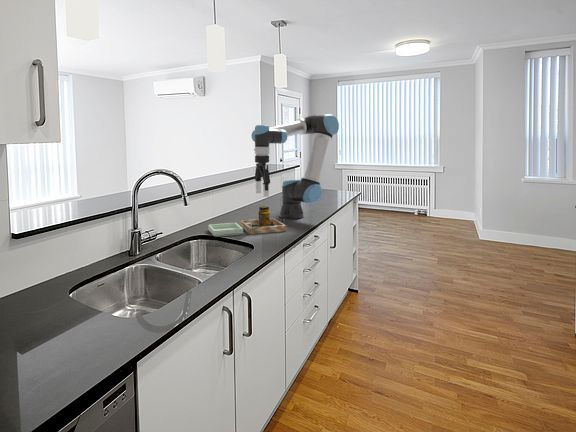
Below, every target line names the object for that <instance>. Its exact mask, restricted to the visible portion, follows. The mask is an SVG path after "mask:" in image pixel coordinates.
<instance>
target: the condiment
mask: <svg viewBox="0 0 576 432" xmlns="http://www.w3.org/2000/svg"><path fill="white" fill-rule="evenodd" d="M270 215H271V214H270V207H269V206H267V205H261V206H259V209H258V219H259V225H258V227H268V226H271V224H270V217H271V216H270ZM255 227H256V226H254V227H253V226H252V228H255Z"/></svg>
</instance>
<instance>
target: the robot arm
mask: <svg viewBox="0 0 576 432" xmlns="http://www.w3.org/2000/svg"><path fill="white" fill-rule="evenodd" d="M339 127H340V123H339V120H338V118H337V117H336V115H334V114H330V113H329V114H328V113H327V114H313V115H308V116H305V117H302V118H298V119H297V120H295V121H293V122H288V123H283V124H278V125H273V126H269V125H268V124H267V125H266V124H258V125H255V126H254V130H252V132H251V139H252V141H253V142H254V149H253V150H254V154H255V155H254V162H255V163H256V164H255V173H254V180H255V194H261V193H262V190H263V194H262V195H263V198H264V197H265V198H266V197H267V198H268V197H269V196H270V195H269V194H270V189H269V188H270V187H269V186H270V184H271V177H270V172H269V171H270V170H269V165H268V164H267V163H270V144H285V143H286V142H287V140H288V137H292V136H296V135H300V136H303V135H312V136H313V137H314V139H313V143H312V145H311V146H312V147H311V150H310V155H309V158H308V162H307V165H306V170H305V172H304V176H303V177H301V178H300V179H299V178H298V179H287V180H283V182H282V186H281V191H282V192H281V194H282V196H281V197H282V201H281V203H282V204H281V207H280V210H279V212H278V213H279V217H280V218H283V219H288V220H289V219H293V220H294V219H302V218H304V215H305V214H304V211H303V206H302V203H305V204H315V203H317V202H318V201H320V199H321V197H322V194H323V190H322V186H321V181H320V175H321V171H322V167H323V163H324V160H325V157H326V153H327V148H328V146H329V145H328V144H329V142H330V141H331V140H332V139H333V135H336V134H337V133H338V132H339ZM262 180H263V181H262ZM262 182H263V183H262ZM262 185H263V186H262ZM262 187H263V189H262Z"/></svg>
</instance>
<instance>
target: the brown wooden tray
mask: <svg viewBox="0 0 576 432" xmlns="http://www.w3.org/2000/svg"><path fill="white" fill-rule="evenodd" d="M248 222H250V223H252V226H254V227H255V228H253V227H250V226H248V225H247V224H246V223H248ZM271 225H272V226H271ZM275 225H277V226H275ZM239 226H241V227H242V228H243V230H245V231H246V232H247V233H248V234H249V235H253V234H265V233H278V232H286V231H287V224H284V223H283V222H281V221H279V220H278V219H276V218H274V217H272V218H270V226H268V227H259V218H257V219H256V218H255V219H246V220H244V219H243V220H240V221H239Z"/></svg>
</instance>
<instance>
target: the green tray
mask: <svg viewBox="0 0 576 432" xmlns="http://www.w3.org/2000/svg"><path fill="white" fill-rule="evenodd" d="M208 231H209V233H210V234H211V233H212V234H211V235H212V236H213V237H214V238H215V237H216V238H217V237H223V236H224V237H225V236H227V237H228V236H240V235H244V229H243V228H242V227H241V226H240V224H238V223H237V222H226V223H224V222H223V223H213V224H211V223H210V224H208Z"/></svg>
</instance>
